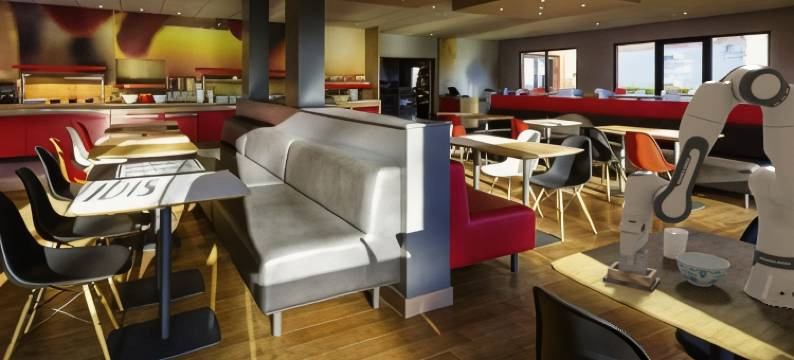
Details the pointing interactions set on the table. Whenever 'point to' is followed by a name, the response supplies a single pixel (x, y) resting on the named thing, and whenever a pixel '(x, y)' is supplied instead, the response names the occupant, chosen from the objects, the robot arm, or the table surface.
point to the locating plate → (632, 278)
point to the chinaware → (702, 268)
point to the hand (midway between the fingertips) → (633, 261)
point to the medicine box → (639, 264)
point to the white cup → (674, 242)
